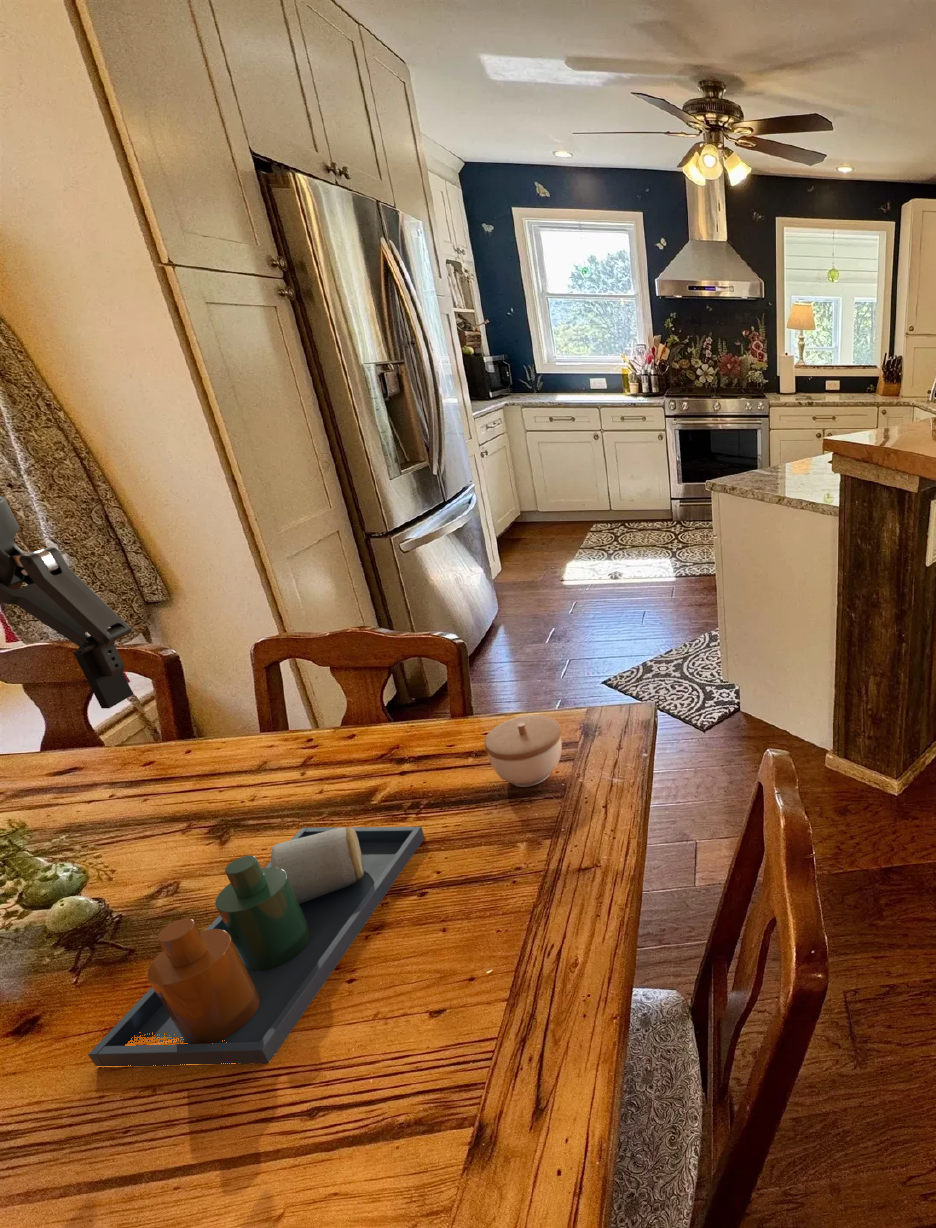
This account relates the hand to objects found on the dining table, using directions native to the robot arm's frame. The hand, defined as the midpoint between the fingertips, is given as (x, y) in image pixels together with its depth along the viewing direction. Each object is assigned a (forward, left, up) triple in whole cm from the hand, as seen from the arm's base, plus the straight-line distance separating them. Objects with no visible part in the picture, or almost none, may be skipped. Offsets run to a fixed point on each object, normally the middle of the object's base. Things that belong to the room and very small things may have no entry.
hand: (48, 701), depth 67 cm
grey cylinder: (+18, +3, -28) cm, 34 cm away
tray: (+19, -5, -29) cm, 35 cm away
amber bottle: (+19, -15, -28) cm, 37 cm away
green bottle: (+19, -7, -28) cm, 35 cm away
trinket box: (+36, +24, -29) cm, 52 cm away
